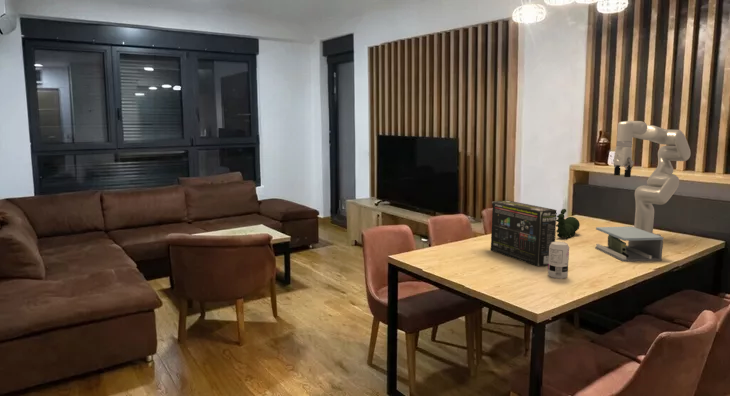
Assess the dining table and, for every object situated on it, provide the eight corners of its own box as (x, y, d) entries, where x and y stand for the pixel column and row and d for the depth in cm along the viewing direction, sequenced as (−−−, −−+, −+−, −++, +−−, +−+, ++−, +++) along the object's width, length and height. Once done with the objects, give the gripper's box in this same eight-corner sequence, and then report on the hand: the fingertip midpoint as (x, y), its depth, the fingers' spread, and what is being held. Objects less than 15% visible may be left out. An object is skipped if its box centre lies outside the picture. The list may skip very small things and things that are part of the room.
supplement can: (544, 273, 230) (546, 241, 228) (562, 273, 231) (564, 241, 229) (552, 279, 222) (554, 245, 220) (570, 278, 223) (572, 245, 221)
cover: (631, 228, 275) (631, 226, 275) (663, 239, 249) (663, 237, 249) (596, 229, 274) (596, 227, 273) (624, 240, 248) (624, 238, 248)
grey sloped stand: (630, 247, 277) (631, 228, 275) (661, 260, 251) (663, 240, 249) (595, 248, 275) (596, 229, 274) (623, 261, 249) (624, 241, 248)
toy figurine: (567, 243, 292) (583, 232, 310) (568, 211, 288) (584, 202, 306) (551, 241, 299) (568, 230, 316) (551, 210, 295) (568, 201, 312)
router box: (555, 264, 245) (558, 209, 241) (538, 267, 240) (541, 211, 236) (505, 248, 277) (507, 199, 273) (489, 250, 272) (490, 200, 268)
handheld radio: (613, 246, 275) (631, 258, 250) (607, 246, 275) (624, 258, 251) (613, 234, 274) (631, 245, 250) (607, 234, 274) (624, 245, 250)
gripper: (608, 143, 283) (606, 174, 286) (627, 145, 266) (624, 178, 269) (621, 143, 284) (619, 174, 286) (640, 145, 267) (638, 177, 269)
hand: (622, 176), depth 278 cm, fingers open, 9 cm apart
